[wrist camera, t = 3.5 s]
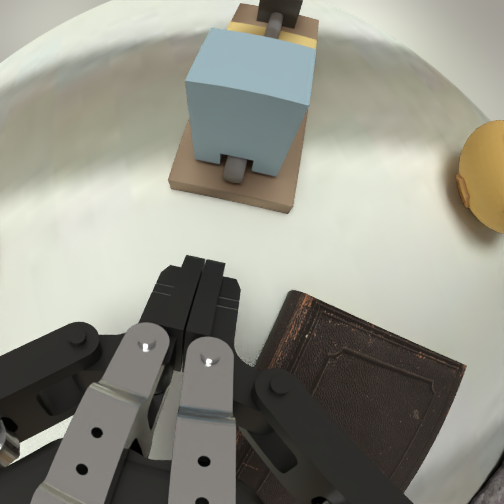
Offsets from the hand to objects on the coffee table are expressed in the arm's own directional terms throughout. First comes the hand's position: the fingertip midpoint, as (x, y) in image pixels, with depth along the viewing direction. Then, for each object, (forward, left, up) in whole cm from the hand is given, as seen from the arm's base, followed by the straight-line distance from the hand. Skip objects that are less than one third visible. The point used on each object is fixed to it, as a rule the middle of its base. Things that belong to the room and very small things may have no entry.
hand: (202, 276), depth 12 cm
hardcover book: (-10, +12, -8) cm, 18 cm away
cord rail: (0, -16, -7) cm, 18 cm away
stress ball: (-22, -13, -8) cm, 27 cm away
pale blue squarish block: (0, -9, -5) cm, 11 cm away
